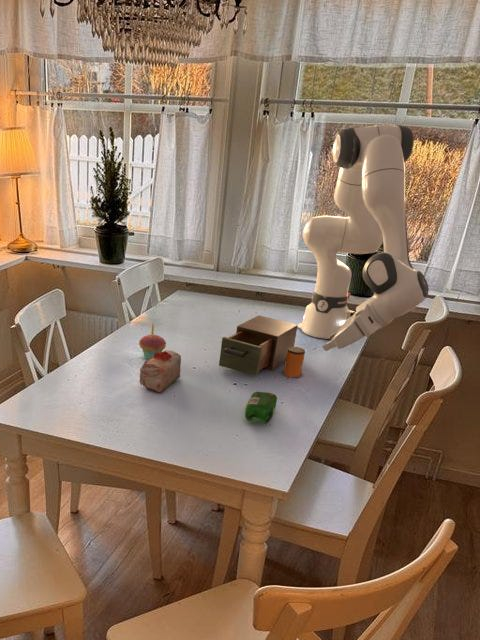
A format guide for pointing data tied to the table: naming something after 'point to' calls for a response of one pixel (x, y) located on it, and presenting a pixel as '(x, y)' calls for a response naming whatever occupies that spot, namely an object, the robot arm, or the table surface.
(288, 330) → the cabinet
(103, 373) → the table surface
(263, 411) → the snack package
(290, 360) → the cookie roll
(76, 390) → the table surface
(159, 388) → the food item
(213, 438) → the table surface
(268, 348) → the drawer
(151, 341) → the cupcake
